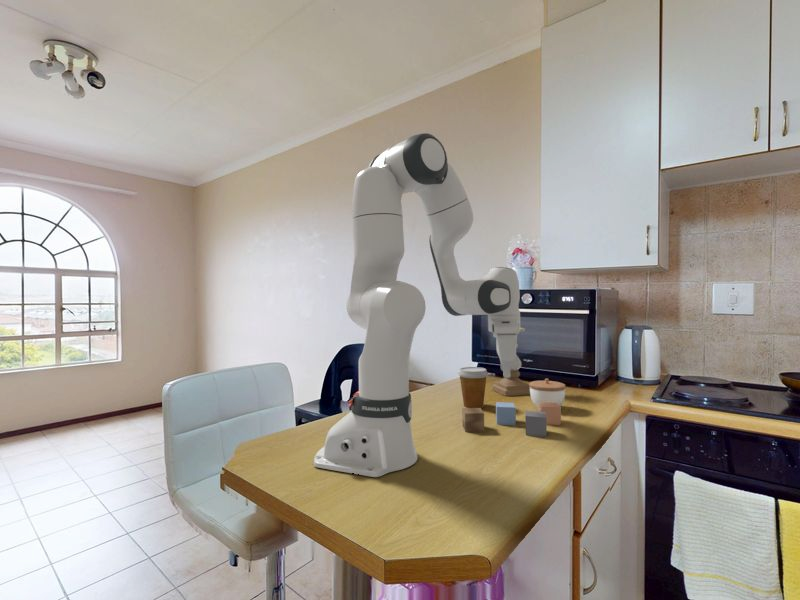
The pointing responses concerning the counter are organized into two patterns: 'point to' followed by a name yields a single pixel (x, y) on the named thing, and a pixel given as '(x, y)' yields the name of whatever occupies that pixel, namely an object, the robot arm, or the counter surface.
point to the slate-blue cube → (505, 413)
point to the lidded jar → (547, 391)
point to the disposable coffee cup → (473, 386)
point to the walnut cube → (473, 419)
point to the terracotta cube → (550, 412)
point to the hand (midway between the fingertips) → (505, 373)
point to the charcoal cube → (536, 423)
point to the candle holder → (512, 381)
